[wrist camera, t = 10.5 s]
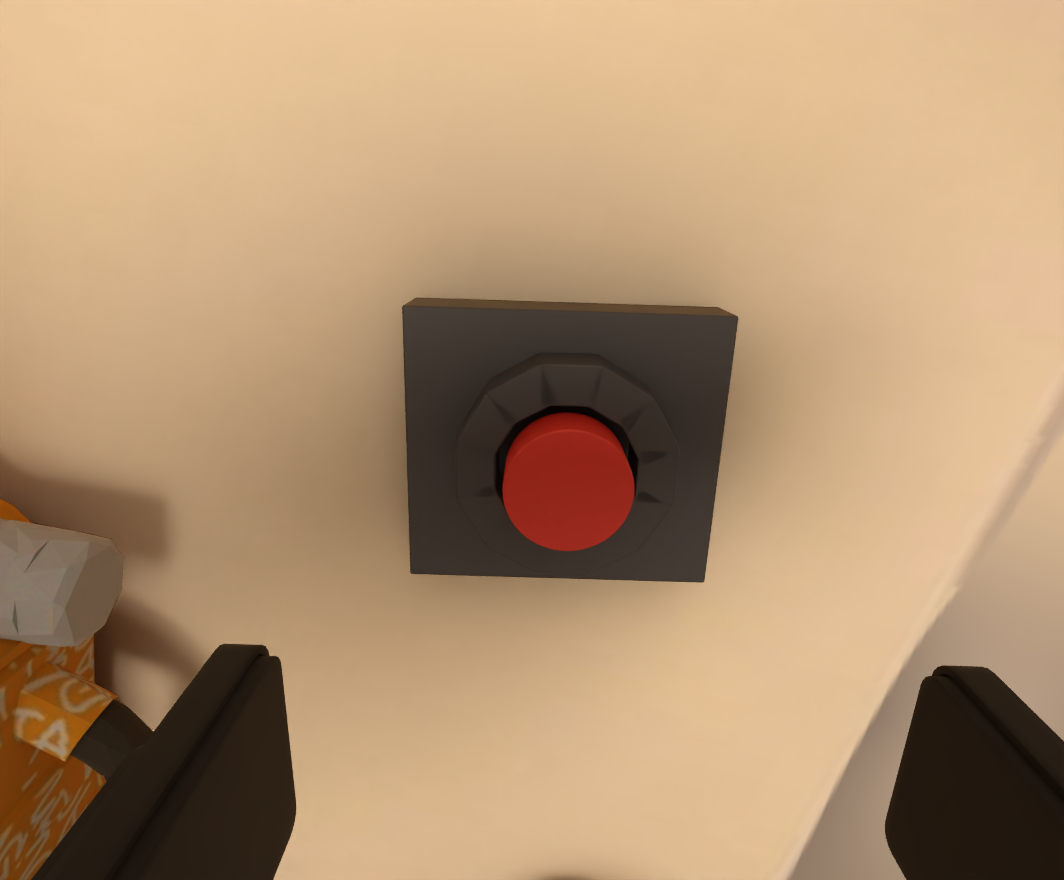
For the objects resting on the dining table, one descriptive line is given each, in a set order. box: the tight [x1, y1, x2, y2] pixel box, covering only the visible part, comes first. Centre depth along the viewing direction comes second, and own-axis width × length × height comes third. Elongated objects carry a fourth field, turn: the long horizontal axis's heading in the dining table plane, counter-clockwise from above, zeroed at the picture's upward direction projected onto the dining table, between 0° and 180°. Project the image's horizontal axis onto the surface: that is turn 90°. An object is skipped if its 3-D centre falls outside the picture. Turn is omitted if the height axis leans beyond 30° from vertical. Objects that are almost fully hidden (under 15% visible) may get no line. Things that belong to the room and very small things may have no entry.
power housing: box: [402, 298, 738, 582], centre depth 21 cm, size 10×9×4 cm
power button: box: [503, 412, 634, 551], centre depth 19 cm, size 4×4×2 cm
